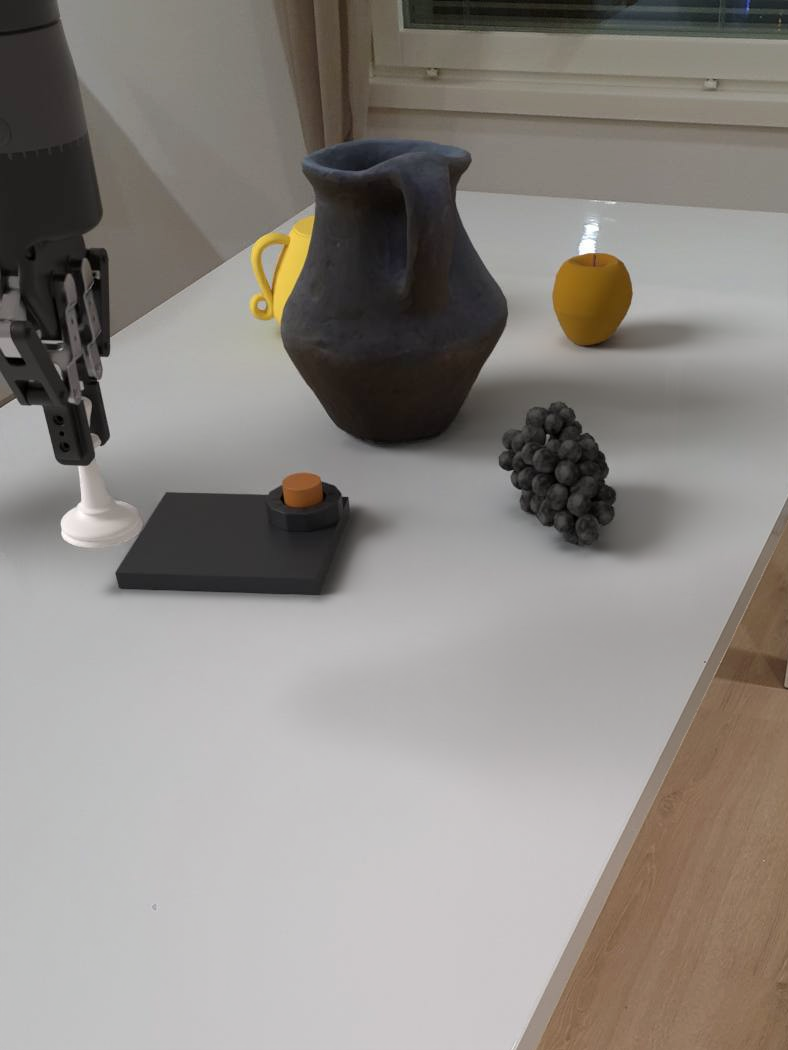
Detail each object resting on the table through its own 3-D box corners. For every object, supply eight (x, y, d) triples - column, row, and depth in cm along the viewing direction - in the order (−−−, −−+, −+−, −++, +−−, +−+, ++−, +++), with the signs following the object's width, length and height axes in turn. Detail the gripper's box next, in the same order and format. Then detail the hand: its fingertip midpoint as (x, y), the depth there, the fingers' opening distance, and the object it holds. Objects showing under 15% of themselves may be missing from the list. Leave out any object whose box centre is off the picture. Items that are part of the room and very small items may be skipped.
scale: (118, 588, 101) (110, 553, 99) (168, 506, 112) (162, 474, 110) (318, 594, 100) (314, 560, 98) (350, 511, 110) (347, 478, 108)
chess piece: (109, 555, 78) (72, 392, 71) (45, 538, 79) (2, 378, 72) (158, 519, 81) (127, 361, 74) (95, 504, 82) (59, 347, 76)
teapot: (435, 343, 140) (429, 216, 131) (262, 362, 136) (245, 234, 128) (399, 285, 154) (392, 168, 146) (242, 302, 151) (225, 183, 143)
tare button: (280, 509, 105) (278, 489, 104) (289, 491, 107) (286, 471, 106) (319, 510, 105) (317, 490, 104) (326, 492, 107) (324, 472, 106)
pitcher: (454, 368, 134) (444, 96, 117) (551, 446, 119) (556, 146, 103) (266, 406, 128) (228, 123, 111) (344, 493, 113) (313, 182, 96)
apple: (617, 359, 135) (622, 271, 129) (540, 351, 137) (541, 264, 131) (638, 332, 141) (643, 246, 135) (564, 324, 143) (566, 239, 137)
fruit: (622, 452, 96) (568, 374, 107) (520, 497, 97) (477, 415, 108) (649, 546, 102) (595, 462, 113) (553, 587, 103) (509, 501, 114)
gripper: (-7, 95, 71) (64, 403, 82) (-123, 162, 60) (-23, 504, 72) (125, 97, 70) (178, 408, 81) (30, 166, 60) (107, 510, 71)
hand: (84, 451), depth 77 cm, fingers closed on chess piece
